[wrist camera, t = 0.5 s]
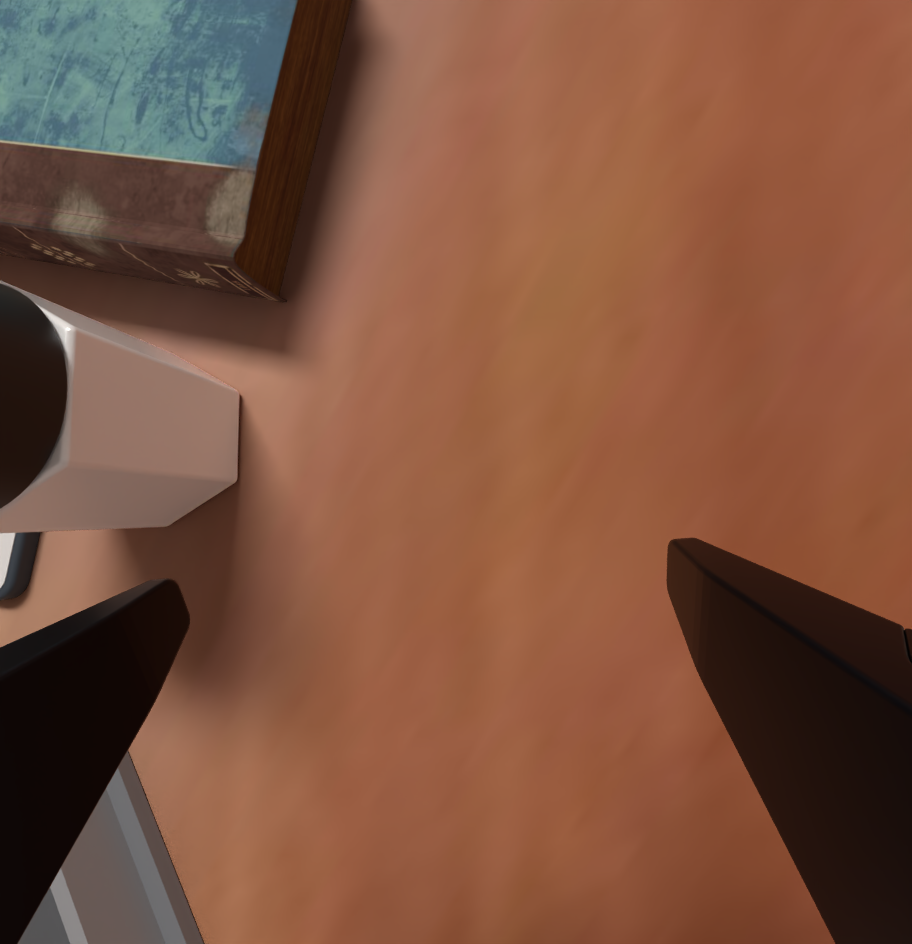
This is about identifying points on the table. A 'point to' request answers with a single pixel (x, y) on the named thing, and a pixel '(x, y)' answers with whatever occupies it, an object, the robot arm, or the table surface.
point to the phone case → (16, 562)
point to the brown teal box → (163, 134)
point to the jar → (103, 425)
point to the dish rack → (116, 879)
